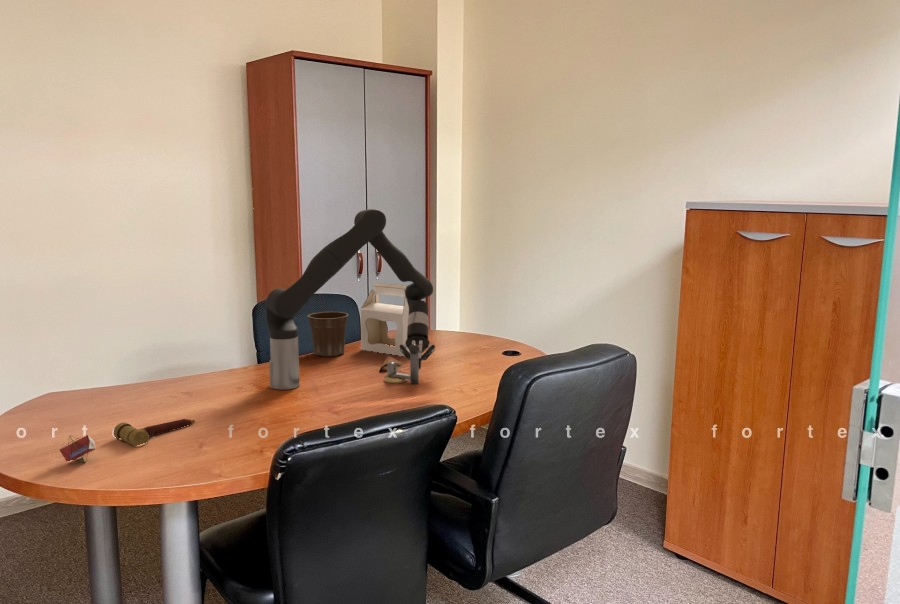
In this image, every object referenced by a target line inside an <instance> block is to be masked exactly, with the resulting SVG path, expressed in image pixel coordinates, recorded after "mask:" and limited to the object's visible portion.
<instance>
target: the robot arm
mask: <svg viewBox="0 0 900 604" xmlns="http://www.w3.org/2000/svg"><path fill="white" fill-rule="evenodd" d="M386 217H387V216H386V215H385V213H384V212H383V211H382V210H380V209H378V208H377V209H376V208H370V209H369V208H368V209H364V210H363V209H362V210H361V211H359V212H357V214H356V215H355V217H354V220H353V222H354V223H353V224H354V225H353V226H352V228H351V229H349V230H348V231H346V232H345V233H344V234H342V235H340V236H339V237H337V238H336V239H334V240H333V241H331V242H330V243H328V244H327V245H326V246H324V247H323V248H322V249H320V251H319V252H317V254H315V256H313V258H311V260H310V262H309V263H308V264H307V266H306V268H305V270H304V272H303V274H302V275H301V276H300V278H299V279H298V280H297V281H295V282H294V283H293V284H292V285H290V286H289V287H288V288H287V289H285V288H276V289H273V290H272V291H270V292H269V293H268V295H267V298H266V301H265V304H266V305H265V311H266V313H265V314H266V323H267V325H266V326H267V329H268V332H269V346H270V348H269V349H270V360H269V361H268V363H269V364H268V365H269V366H268V369H269V370H268V371H269V389H275V390H283V391H284V390H285V391H286V390H291V389H296V388H298V387H300V383H301V382H300V379H301V378H300V357H299V355H300V353H299V330H298V327H297V325H296V323H295V320H294V316H296V315H297V314H298V313H299V312H300V310H301V309H303V307H304V306H305V305H306V304H307V302H308V301H309V300H310V299H311V297H313V295H315V293H317V292H318V291H319V290H320V289H322V287H323V286H324V285H326V284H327V282H329V280H331V279H332V278H333V277H334V276H335V275H337V273H338V272H339V271H340V270H342V269H343V268H344V266H345V265H346V264H348V263H349V261H350V260H351V259H352V258H354V256H355V255H356V254H357V253H358V252H359V251H360V250H361V249H362V248H363V247H365V245H366V244H368V243H369V244H370V245H371V246H372V247H373V248H374V249H375V250H376V251H377V253H378V254H379V255H380V256H381V257H382V258H383V259H384V261H385V262H386V264H387V265H388V266H389V268H390V269H391V271H393V273H394V274H395V276H396V277H397V278H398V280H399V281H400V282H402V283H407V282H411V283H409V284H408V285H406V286H407V287H406V290H405V296H406V299H407V303H408V306H409V317H408V326H407V340H406V342H405V344H403V345H400V351H401V352H402V353H403V354H404V355H405V356H404V357H405V358H406V359H407V360H408V361H410V353H409V352H408V351H407V347H408V349H409V347H410V346H411V345H412V344H416V345H418V346H419V348H420V351H419V370H421V368H422V361H427V360H428V358H429V357H431V355H432V354H433V353H434V352H435V351H436V345H434V344H431V342H430V340H429V328H430V327H429V326H430V325H429V305H428V303H427V302H426V301H424V300H425V299H426V298H428V297H430V296H432V295H433V292H434V287H433V284H432V282H431V280H430V279H429V278H427V277H426V276H425V275H424V274H423V273H422V272H420V271H419V270H418V269H416V268H415V266H414V265H413V264H412V262H411V260H409V258H408V257H407V256H406V255H405V253H404V252H403V251H402V250H401V249H399V247H397V246H396V245H395V244H394V243H393V242H392V241H391V240H390V239H389V238H388V237H387V236H386V234H385V233H384V229H385V228H386V225H387V218H386Z"/></svg>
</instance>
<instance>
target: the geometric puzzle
mask: <svg viewBox="0 0 900 604" xmlns="http://www.w3.org/2000/svg"><path fill="white" fill-rule="evenodd" d="M75 436H78V435H71V436H68V440H70V439H71V441H68V443H67V445H64V444H65V443H63V444H62V446H63V447H60V449H59V451H60V453H61V455H62V457H63V458H64V460H65V462H67V461H70V460H74V461H75V460H76V461H79V459H80V458H81V459H83V458H84V455H85V456H88V455H89V454H90V453H91V454H90V455H92V454H93V453H92V452H93V451H95V450H96V442H95V440H94V439H93V438H91V436H89V435H88V434H85V435H84V436H82V437H79V438H78V437H75ZM72 438H75V439H76V440H74V439H72ZM89 458H90V456H89ZM89 458H88V457H86V459H85V461H88V459H89ZM77 459H78V460H77Z"/></svg>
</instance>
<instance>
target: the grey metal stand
mask: <svg viewBox="0 0 900 604" xmlns="http://www.w3.org/2000/svg"><path fill="white" fill-rule="evenodd" d="M419 351H420V348H419V346H418V345H416V344H412V345H411V346H410V347H409V352H410V360H409V362H410V363H409V364H410V367H409V368H410V369H409V370H410V372H409V373H403V372H398V371H397V363H396V362H388V363H387V372H386V373H387V374H386V375H385V376H383V381H384V382H385V383H387V384H393V385H394V384H395V385H396V384H397V385H398V384H404V383H407V382H408V380H410V382H409V383H410V385H418V384H420V383H419V382H420V381H419V377H420V376H419V371H420V369H419Z"/></svg>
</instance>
